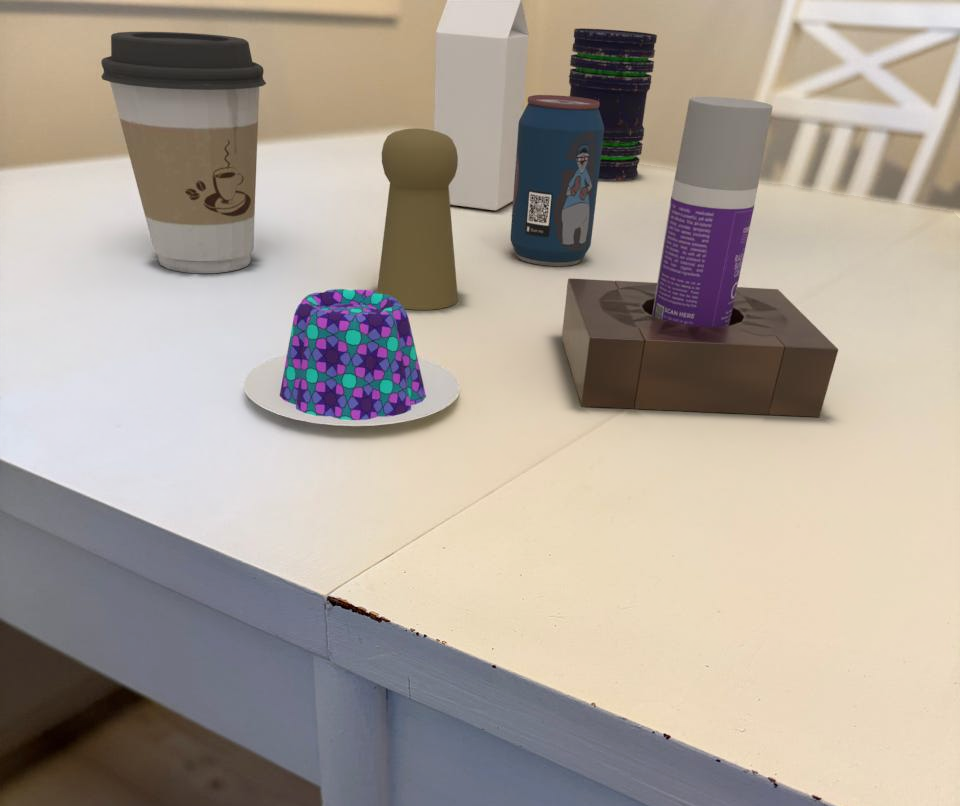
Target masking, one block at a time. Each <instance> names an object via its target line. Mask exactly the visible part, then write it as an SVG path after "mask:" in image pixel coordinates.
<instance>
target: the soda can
mask: <svg viewBox="0 0 960 806" xmlns="http://www.w3.org/2000/svg"><path fill="white" fill-rule="evenodd" d="M599 105H600V103H599V101H596V100H592V99H587V98H580V97H571V96H570V95H559V94H558V95H555V94H534V95H533V94H532V95H530V96H528V97H527V105H526V106H525V109H523V114H522V116H521V118H520V120H519V125H518V139H517V153H516V167H515V181H514V194H513V201H512V209H511V224H510V225H511V226H510V235H509V236H510V237H509V239H510V243H511V245H512V247H513V248H512V249H513V250H514V253H515V254H516V256H517V258H518V259H519V260H521V261H523V262H526V263H530V264H533V265H537V266H538V265H539V266H546V267H567V266H574V265H577V264H579V263H581V261H582V260H583V259H584V257H585V256H586V254H587V253H588V251H589V249H590V248H591V245H592V238H593V237H592V236H593V229H594V220H595V211H596V203H597V195H598V194H597V193H598V186H599V185H598V184H599V180H598V178H599V169H600V160H601V152H602V143H603V134H604V125H603V122H602V118H601V115H600V112H599V109H598V108H599Z"/></svg>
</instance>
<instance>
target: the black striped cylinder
mask: <svg viewBox="0 0 960 806" xmlns="http://www.w3.org/2000/svg"><path fill="white" fill-rule="evenodd" d="M573 38H574V41H573V42H574V43H572V48H571V52H573V53H575V54H571V55H570V60H569V66H570V67H573V68H570V70H569V75H568V78H569V79H568V84H569V86H570V88H569V89H570V91H569V96H571V97H580V98H587V99H592V100H596V101H599V103H600V105H599V108H598V109H599V112H600V115H601V118H602V122H603V125H604V134H603V143H602V152H601V160H600V169H599V178H598V181H602V182H603V181H605V182H624V181H625V182H626V181H632V180H635V179H637V178H638V173H639V171H638V165H639V164H640V158H639V157H638V156H641V155H642V151H643V145H644V144H643V143H642V141H643V140H644V136H645V128H644V126H643V125H644V116H645V112H646V111H645V110H646V103H647V96H648V92H649V90H650V89H651V84H652V77H653V75H651V74H650V73H653V72H654V67H655V65H654V64H655V60H651V59H654V58H655V52H656V50H655V45H656V43H657V40H658V34H655V33H650V32H649V33H648V32H640V31H629V30H617V29H605V28H604V29H603V28H583V27H581V28H574V30H573ZM648 73H649V74H648Z"/></svg>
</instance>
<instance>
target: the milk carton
mask: <svg viewBox="0 0 960 806" xmlns="http://www.w3.org/2000/svg"><path fill="white" fill-rule="evenodd" d="M526 19H527V18H526V16H525V10H524V5H523V1H522V0H446V3H445V6H444V9H443V11H442V14H441V17H440V19H439V22H438V25H437V28H436V30H435V64H434V65H435V67H434V70H435V71H434V102H433V103H434V104H433V107H434V109H433V110H434V111H433V131H437V132H440V133H442V134H445V135H447V136H449V137H450V138H451V139H452V140H453V143H454V145H455V147H456V150H457V155H458V165H457V170H456V174H455V177H454V178H453V180H452V181H451V183H450V184H449V198H450V206H457V207H459V206H460V207H464V208H465V207H466V208H475V209H481V210H489V211H498V210H499V209H501V208H503V207H505V206H507V205H509V204H510V203H513V194H514V181H515V167H516V153H517V139H518V125H519V120H520V118H521V116H522V114H523V112H524V105H525V104H524V103H525V92H526V91H525V90H526V79H527V78H526V77H527V63H528V62H527V61H528V49H529V37H530V36H529V29H528V25H527V20H526Z"/></svg>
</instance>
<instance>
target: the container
mask: <svg viewBox="0 0 960 806" xmlns="http://www.w3.org/2000/svg"><path fill="white" fill-rule="evenodd" d="M772 113H773V105H772V104H771V103H767V102H762V101H758V100H750V99H743V98H734V97H733V98H732V97H721V96H694V97H690V98H689V99H688V104H687V111H686V116H685V120H684V125H683V132H682V137H681V142H680V148H679V152H678V153H679V154H678V157H677V158H678V159H677V164H676V170H675V174H674V180H673V184H672V190H671V196H670V201H669V207H668V212H667V213H668V214H667V219H666V220H667V221H666V226H665V231H664V232H665V233H664V239H663V246H662V250H661V258H660V264H659V270H658V277H657V282H656V283H657V288H656V294H655V300H654V307H653V313H652V316H654V317H656V318H659V319H663V320H666V321H669V322H672V323H677V324H683V325H689V326H704V327H720V326H729V323H730V318H731V314H732V309H733V304H734V300H735V295H736V290H737V287H738V285H739V282H740V281H739V280H740V276H741V271H742V265H743V261H744V256H745V252H746V248H747V243H748V238H749V233H750V228H751V223H752V220H753V214H754V209H755V205H756V198H757V192H758V187H759V182H760V177H761V171H762V166H763V161H764V156H765V150H766V144H767V140H768V135H769V134H768V133H769V129H770V123H771V118H772Z"/></svg>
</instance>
